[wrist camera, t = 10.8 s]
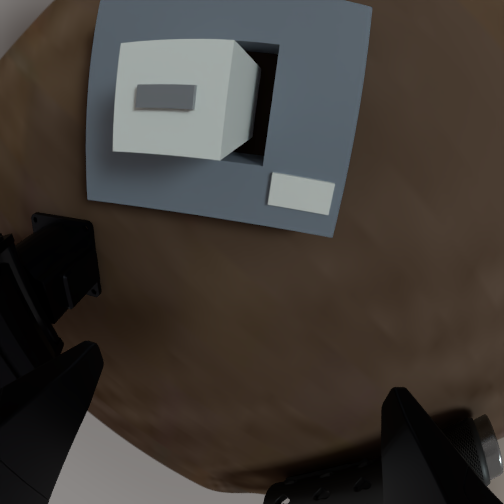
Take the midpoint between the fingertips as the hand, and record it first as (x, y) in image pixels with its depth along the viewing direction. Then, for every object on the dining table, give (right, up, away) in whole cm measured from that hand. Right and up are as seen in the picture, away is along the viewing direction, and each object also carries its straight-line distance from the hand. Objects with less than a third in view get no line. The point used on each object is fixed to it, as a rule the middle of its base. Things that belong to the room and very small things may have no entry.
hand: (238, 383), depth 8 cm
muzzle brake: (+16, -21, +22) cm, 35 cm away
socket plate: (-1, +12, +8) cm, 14 cm away
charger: (-1, +12, +8) cm, 15 cm away
